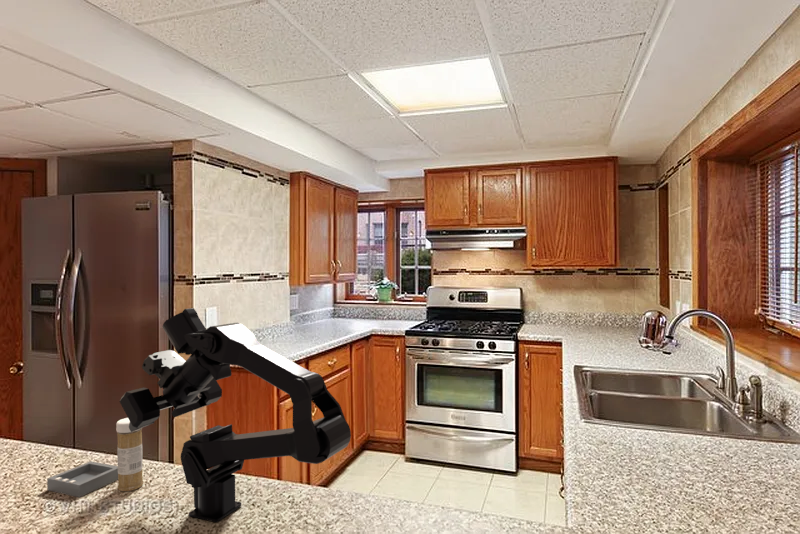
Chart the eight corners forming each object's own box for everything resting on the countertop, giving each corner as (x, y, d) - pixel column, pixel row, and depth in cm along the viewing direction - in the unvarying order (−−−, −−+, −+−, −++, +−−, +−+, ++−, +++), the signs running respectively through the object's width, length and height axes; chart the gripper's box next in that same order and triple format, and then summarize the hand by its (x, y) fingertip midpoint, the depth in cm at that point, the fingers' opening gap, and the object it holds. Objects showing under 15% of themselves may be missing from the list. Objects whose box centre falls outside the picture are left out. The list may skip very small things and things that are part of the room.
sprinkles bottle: (140, 480, 100) (139, 414, 100) (145, 487, 97) (144, 419, 97) (115, 486, 97) (114, 419, 97) (119, 494, 94) (118, 424, 94)
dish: (121, 478, 101) (121, 465, 101) (79, 497, 93) (79, 484, 93) (90, 471, 104) (90, 460, 104) (47, 490, 96) (47, 477, 96)
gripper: (213, 332, 99) (174, 377, 105) (128, 346, 83) (86, 399, 88) (241, 376, 96) (199, 421, 101) (159, 400, 79) (113, 452, 85)
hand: (152, 422), depth 94 cm, fingers open, 9 cm apart
